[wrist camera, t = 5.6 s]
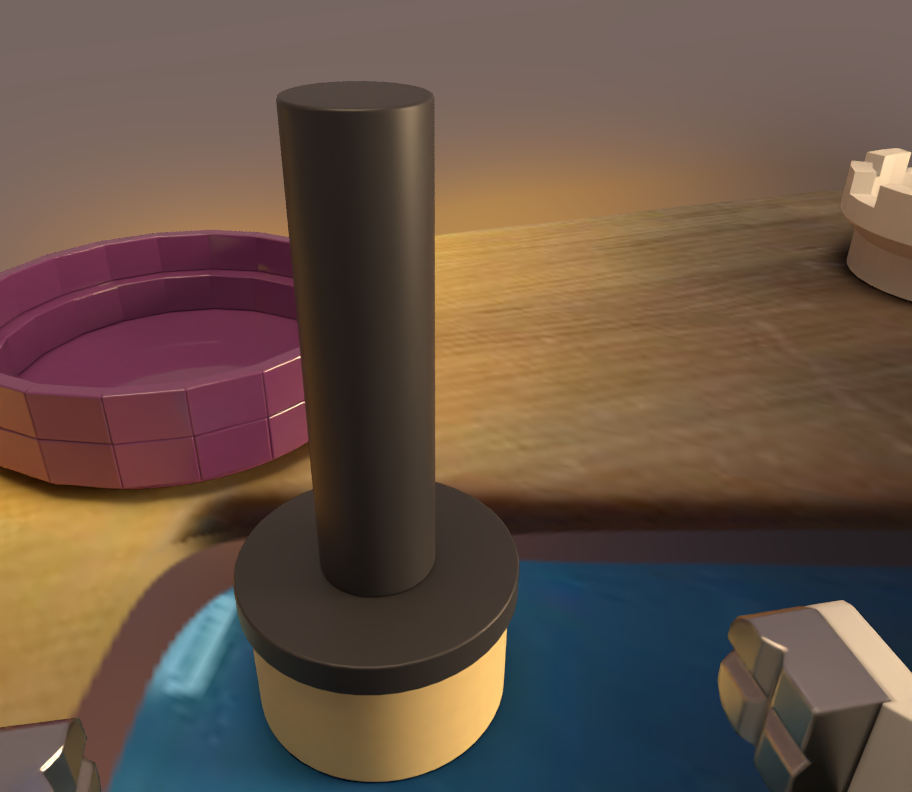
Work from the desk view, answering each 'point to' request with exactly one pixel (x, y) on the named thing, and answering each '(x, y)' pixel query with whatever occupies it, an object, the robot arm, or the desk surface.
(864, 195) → the flag stand
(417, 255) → the dish brush
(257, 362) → the plum bowl
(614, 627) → the desk surface
